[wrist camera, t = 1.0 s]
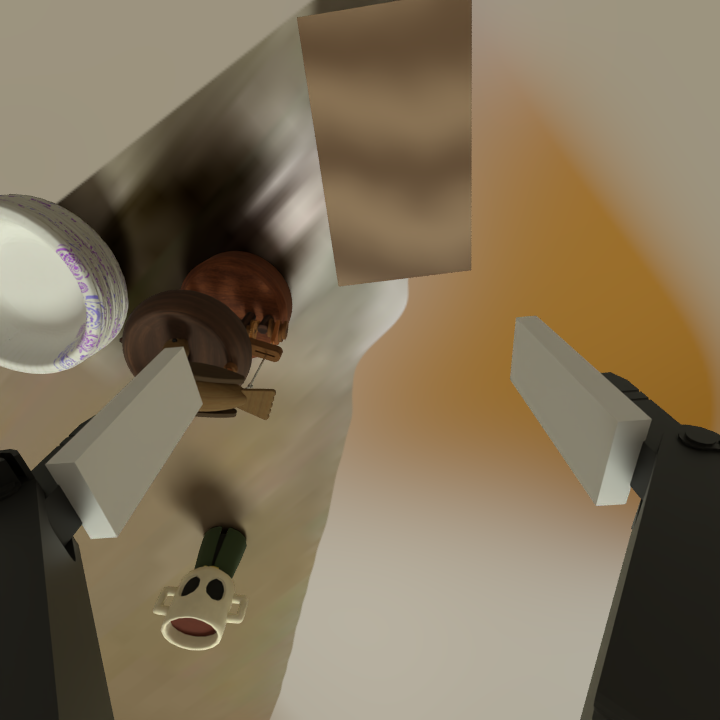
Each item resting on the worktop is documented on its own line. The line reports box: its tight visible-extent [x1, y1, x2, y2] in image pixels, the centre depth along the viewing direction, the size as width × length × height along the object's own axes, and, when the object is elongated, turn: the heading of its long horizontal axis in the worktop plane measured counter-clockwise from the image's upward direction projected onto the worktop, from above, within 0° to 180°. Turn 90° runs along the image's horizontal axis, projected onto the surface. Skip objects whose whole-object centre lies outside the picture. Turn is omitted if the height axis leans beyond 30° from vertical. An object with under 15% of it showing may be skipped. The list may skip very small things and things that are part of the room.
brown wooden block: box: [297, 0, 472, 286], centre depth 30 cm, size 16×10×10 cm, turn 7°
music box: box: [120, 251, 292, 420], centre depth 32 cm, size 15×11×20 cm
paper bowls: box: [0, 194, 128, 374], centre depth 36 cm, size 15×15×8 cm
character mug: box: [153, 527, 248, 650], centre depth 51 cm, size 11×7×13 cm, turn 80°
